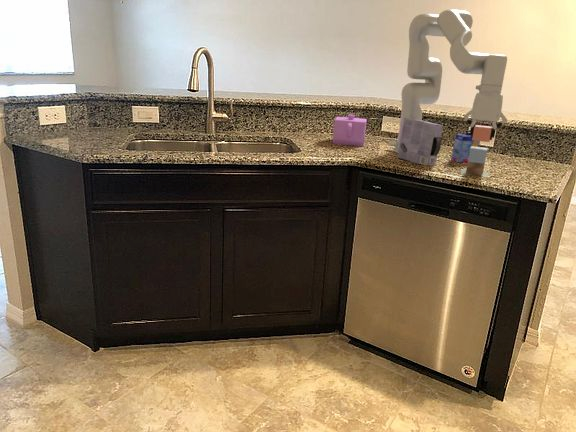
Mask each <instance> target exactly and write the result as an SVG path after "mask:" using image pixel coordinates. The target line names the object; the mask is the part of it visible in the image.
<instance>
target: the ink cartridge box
mask: <svg viewBox="0 0 576 432" xmlns="http://www.w3.org/2000/svg"><path fill="white" fill-rule="evenodd" d="M470 130H471V129H469V130H468V131H467V132H466V133H456V134H455V137H454V143H453V149H452V154H451V158H450V161H453V162H456V163H468V158H469V153H470V148H471V146H474V147H480V144H481V141H476V140H472V138H471V135H470Z"/></svg>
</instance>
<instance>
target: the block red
mask: <svg viewBox="0 0 576 432" xmlns="http://www.w3.org/2000/svg"><path fill="white" fill-rule="evenodd" d="M492 128H493V126H489V125H480V124H475V127H474V132H473V137H472V140H476V141H480V142H484V143H490V141H491V140H490V135H491V130H492Z"/></svg>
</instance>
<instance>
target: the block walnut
mask: <svg viewBox="0 0 576 432" xmlns="http://www.w3.org/2000/svg"><path fill="white" fill-rule="evenodd" d="M485 164H486V163H485ZM485 164H483V163H475V162H468V163H467V164H466V169H465V170H466V174H465V175H468V174H469V175H470V176H475V175H476V176H477V177H482V174H483V173H484V169H485Z"/></svg>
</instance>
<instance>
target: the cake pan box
mask: <svg viewBox="0 0 576 432" xmlns="http://www.w3.org/2000/svg"><path fill="white" fill-rule="evenodd" d="M443 129H444V125H443V124H439V123H434V122H429V121H427V120H417V119H413V118H404V123H403V129H402V134H401V140H400V146H399V151H398V153H397V159H402V160H405V161H408V162H411V163H413V164H417V165H420V164H421V166H424V165H426V166H433V165H436V164H437V157H438V154H439V153H440V151H441V146H442V133H443Z"/></svg>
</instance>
